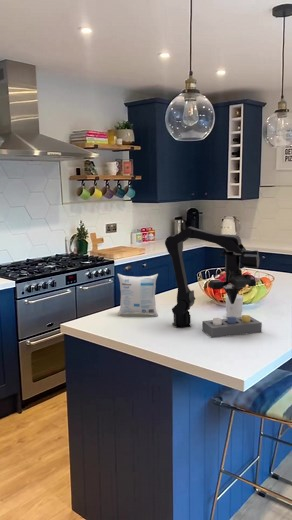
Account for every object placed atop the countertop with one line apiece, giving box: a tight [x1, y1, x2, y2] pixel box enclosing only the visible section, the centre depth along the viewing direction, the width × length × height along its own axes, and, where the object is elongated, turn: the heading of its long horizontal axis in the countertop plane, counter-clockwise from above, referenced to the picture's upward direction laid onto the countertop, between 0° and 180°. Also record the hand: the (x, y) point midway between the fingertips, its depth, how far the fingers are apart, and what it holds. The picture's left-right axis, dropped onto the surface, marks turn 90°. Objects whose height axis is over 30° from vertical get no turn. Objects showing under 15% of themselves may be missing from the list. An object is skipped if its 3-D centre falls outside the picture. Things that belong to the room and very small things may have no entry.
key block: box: [201, 316, 263, 339], centre depth 188 cm, size 22×10×4 cm, turn 106°
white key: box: [212, 317, 223, 326], centre depth 186 cm, size 4×4×4 cm
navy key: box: [226, 316, 236, 324], centre depth 188 cm, size 4×4×4 cm
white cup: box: [225, 293, 244, 318], centre depth 207 cm, size 8×8×10 cm
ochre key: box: [241, 314, 251, 323], centre depth 189 cm, size 4×4×4 cm
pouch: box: [117, 273, 159, 317], centre depth 212 cm, size 8×19×20 cm, turn 79°
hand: (232, 303), depth 186 cm, fingers closed
